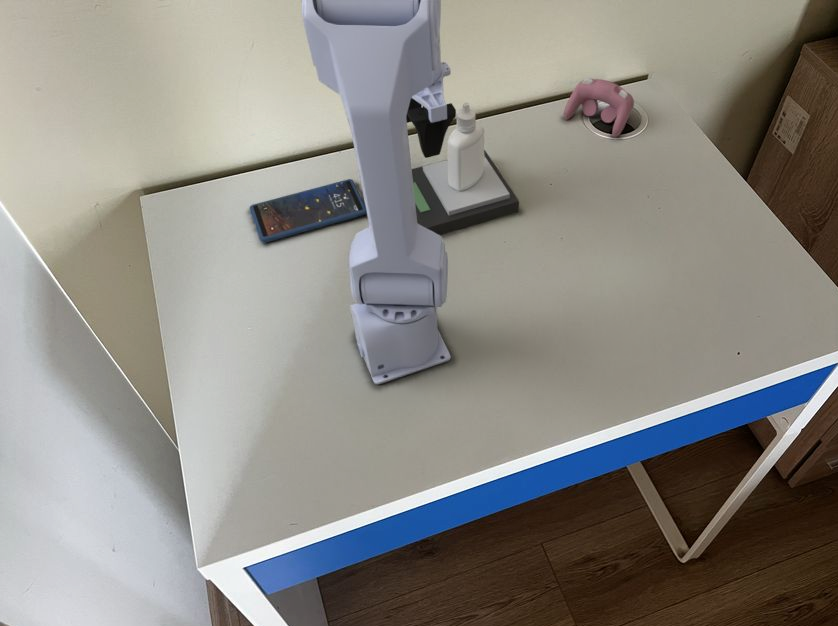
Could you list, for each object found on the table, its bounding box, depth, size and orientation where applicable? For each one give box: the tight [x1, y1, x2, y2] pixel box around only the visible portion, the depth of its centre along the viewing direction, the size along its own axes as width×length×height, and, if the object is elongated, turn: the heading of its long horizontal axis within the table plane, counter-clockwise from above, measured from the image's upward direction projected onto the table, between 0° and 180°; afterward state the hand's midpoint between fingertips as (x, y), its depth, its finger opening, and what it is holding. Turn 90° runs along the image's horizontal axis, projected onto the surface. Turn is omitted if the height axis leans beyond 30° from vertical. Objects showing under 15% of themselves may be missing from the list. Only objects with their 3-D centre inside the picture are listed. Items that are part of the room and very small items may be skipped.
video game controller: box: [563, 78, 635, 138], centre depth 108 cm, size 10×5×7 cm, turn 58°
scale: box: [412, 149, 520, 236], centre depth 98 cm, size 14×12×3 cm
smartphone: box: [249, 178, 367, 244], centre depth 97 cm, size 8×1×15 cm
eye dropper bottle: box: [447, 102, 485, 191], centre depth 93 cm, size 4×6×12 cm
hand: (421, 137), depth 91 cm, fingers open, 7 cm apart
